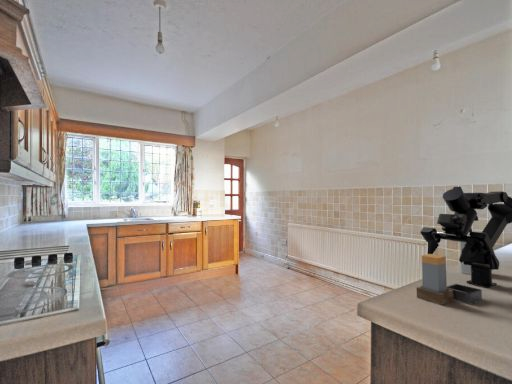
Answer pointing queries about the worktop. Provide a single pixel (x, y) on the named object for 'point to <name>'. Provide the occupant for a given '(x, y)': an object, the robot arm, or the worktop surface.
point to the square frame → (435, 296)
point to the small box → (464, 268)
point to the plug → (434, 273)
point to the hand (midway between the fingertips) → (443, 258)
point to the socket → (465, 293)
